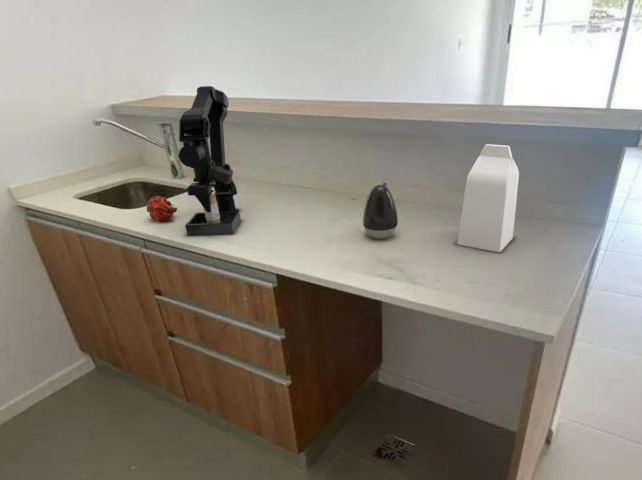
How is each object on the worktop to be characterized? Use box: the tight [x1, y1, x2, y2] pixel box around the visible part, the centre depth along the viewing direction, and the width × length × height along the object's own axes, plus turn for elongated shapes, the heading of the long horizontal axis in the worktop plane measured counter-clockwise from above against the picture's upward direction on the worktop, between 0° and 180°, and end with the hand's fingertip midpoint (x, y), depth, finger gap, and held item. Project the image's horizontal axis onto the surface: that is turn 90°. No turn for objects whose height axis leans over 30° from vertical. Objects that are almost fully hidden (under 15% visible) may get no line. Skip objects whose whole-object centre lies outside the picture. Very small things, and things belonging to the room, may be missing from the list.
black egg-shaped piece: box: [362, 182, 399, 240], centre depth 135 cm, size 10×10×15 cm
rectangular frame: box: [184, 210, 242, 237], centre depth 150 cm, size 12×15×4 cm
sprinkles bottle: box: [202, 186, 221, 224], centre depth 147 cm, size 5×5×13 cm
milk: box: [456, 143, 520, 253], centre depth 125 cm, size 12×12×26 cm
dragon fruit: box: [146, 195, 178, 223], centre depth 159 cm, size 8×8×12 cm
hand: (211, 209), depth 147 cm, fingers closed on sprinkles bottle, 4 cm apart
